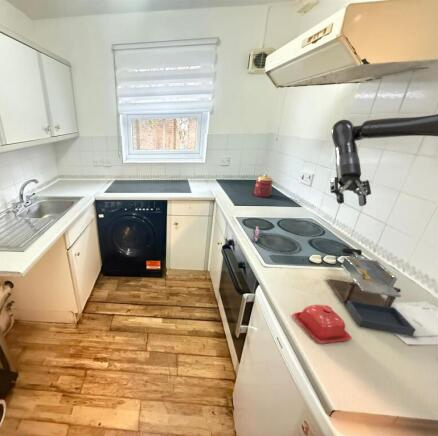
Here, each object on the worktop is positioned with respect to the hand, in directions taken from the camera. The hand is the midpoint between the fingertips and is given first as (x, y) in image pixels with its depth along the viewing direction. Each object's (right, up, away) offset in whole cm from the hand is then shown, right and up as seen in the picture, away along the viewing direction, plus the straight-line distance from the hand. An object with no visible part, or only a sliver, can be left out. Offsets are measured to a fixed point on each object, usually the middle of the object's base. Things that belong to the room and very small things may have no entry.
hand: (351, 204), depth 93 cm
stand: (-4, -34, -6) cm, 34 cm away
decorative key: (-20, -15, +38) cm, 46 cm away
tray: (-7, -38, -17) cm, 42 cm away
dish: (-3, -26, -8) cm, 27 cm away
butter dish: (-27, -40, -20) cm, 52 cm away
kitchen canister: (+16, +14, +107) cm, 109 cm away
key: (-4, -26, -10) cm, 28 cm away
